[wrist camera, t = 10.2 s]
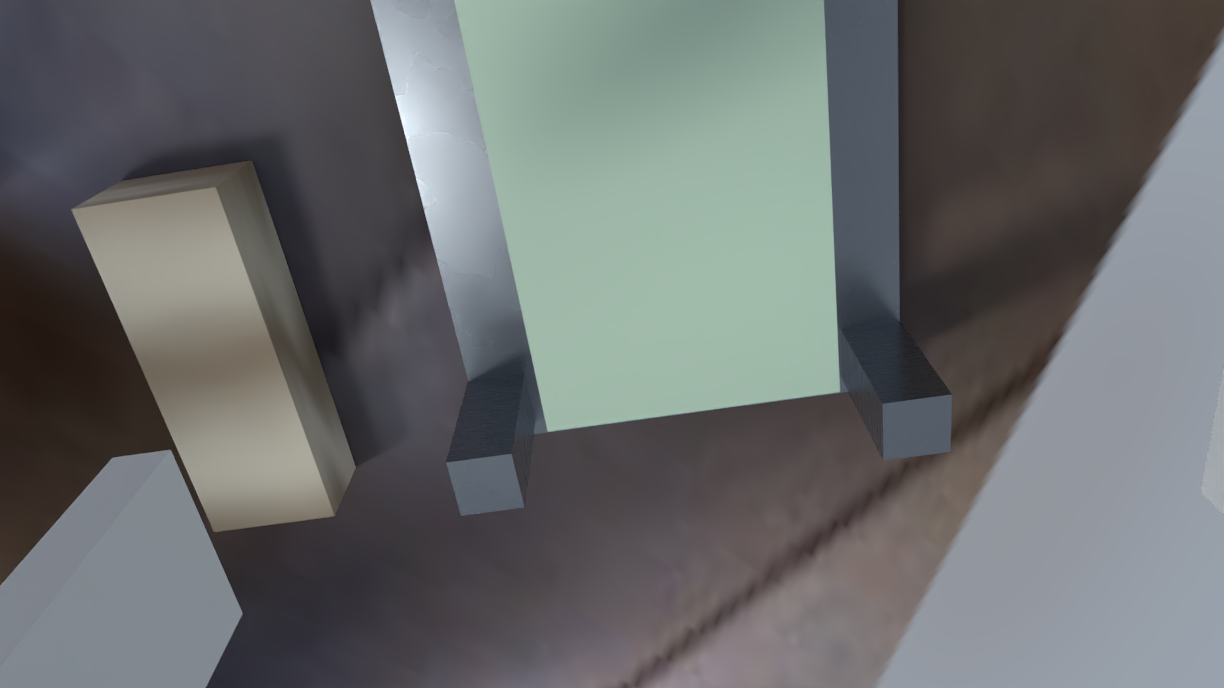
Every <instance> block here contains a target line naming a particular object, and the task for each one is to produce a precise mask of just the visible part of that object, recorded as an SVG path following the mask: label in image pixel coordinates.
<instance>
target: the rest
mask: <svg viewBox="0 0 1224 688" xmlns="http://www.w3.org/2000/svg"><path fill="white" fill-rule="evenodd" d="M71 210H72V212H73V215H74V217H75V219H76V221H77V224H78V226H79V228H80V230H81V233H82V235H83V237H84V239H85V242H86V244H87V246H88V249H89V251H90V253H91V255H92V258H93V260H94V262H95V264H96V267H97V269H98V271H99V273H100V276H101V278H102V280H103V282H104V285H105V287H106V289H107V291H108V294H109V296H110V298H111V301H112V303H113V305H114V307H115V310H116V312H117V314H118V316H119V319H120V321H121V323H122V325H123V328H124V330H125V332H126V334H127V337H128V339H129V341H130V343H131V346H132V348H133V350H134V352H135V355H136V357H137V359H138V362H139V364H140V366H141V368H142V371H143V373H144V375H145V377H146V380H147V382H148V384H149V386H150V389H151V391H152V393H153V395H154V398H155V400H156V402H157V404H158V407H159V409H160V411H161V414H162V416H163V418H164V420H165V423H166V425H167V427H168V429H169V432H170V434H171V436H172V438H173V441H174V443H175V445H176V447H177V450H178V452H179V454H180V456H181V459H182V461H183V463H184V465H185V468H186V470H187V472H188V475H189V477H190V479H191V481H192V484H193V486H194V488H195V490H196V493H197V495H198V497H199V499H200V502H201V504H202V506H203V508H204V511H205V513H206V515H207V517H208V520H209V522H210V524H211V526H212V529H213V531H214V532H220V531H227V530H235V529H242V528H250V527H258V526H265V525H273V524H280V523H288V522H295V521H303V520H311V519H318V518H326V517H333V516H335V515H336V512H337V510H338V508H339V506H340V503H341V501H342V499H343V496H344V494H345V492H346V489H347V487H348V485H349V482H350V480H351V478H352V476H353V473H354V471H355V469H356V466H355V463H354V460H353V457H352V454H351V451H350V448H349V445H348V442H347V439H346V436H345V433H344V430H343V427H342V425H341V422H340V419H339V416H338V413H337V410H336V407H335V404H334V401H333V398H332V395H331V392H330V389H329V386H328V383H327V380H326V377H325V374H324V371H323V368H322V365H321V362H320V360H319V357H318V354H317V351H316V348H315V345H314V342H313V339H312V336H311V333H310V330H309V327H308V324H307V321H306V318H305V315H304V312H303V309H302V306H301V303H300V300H299V297H298V295H297V292H296V289H295V286H294V283H293V280H292V277H291V274H290V271H289V268H288V265H287V262H286V259H285V256H284V253H283V250H282V247H281V244H280V241H279V238H278V235H277V232H276V230H275V227H274V224H273V221H272V218H271V215H270V212H269V209H268V206H267V203H266V200H265V197H264V194H263V191H262V188H261V185H260V182H259V179H258V176H257V173H256V170H255V167H254V164H253V162H252V160H250V161H244V162H237V163H231V164H224V165H218V166H212V167H205V168H199V169H192V170H186V171H180V172H173V173H167V174H161V175H154V176H148V177H141V178H135V179H129V180H122V181H119V182H118V183H116V184H114V185H113V186H111V187H109V188H107V189H106V190H104V191H102V192H100V193H99V194H97V195H95V196H94V197H92V198H90V199H88V200H87V201H85V202H83V203H81V204H80V205H78V206H76V207H74V208H73V209H71Z"/></svg>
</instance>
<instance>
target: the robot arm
mask: <svg viewBox="0 0 1224 688" xmlns="http://www.w3.org/2000/svg"><path fill="white" fill-rule="evenodd" d="M1201 493H1202V494H1203V495H1204V496H1205V497H1206V498H1207V499H1208V500H1210V501H1211V502H1212V503H1213V504H1214V505H1215V506H1216V507H1217V508H1218V509H1219V510H1220V511H1221V512H1222V513H1223V514H1224V367H1223V373H1222V378H1221V384H1220V389H1219V395H1218V400H1217V406H1216V411H1215V417H1214V422H1213V428H1212V433H1211V438H1210V444H1209V449H1208V455H1207V461H1206V466H1205V471H1204V477H1203V482H1202V488H1201ZM242 614H243V613H242V611H241V608H240V606H239V604H238V601H237V599H236V597H235V595H234V592H233V590H232V588H231V586H230V583H229V581H228V579H227V576H226V574H225V572H224V570H223V567H222V565H221V563H220V561H219V558H218V556H217V554H216V551H215V549H214V547H213V545H212V542H211V540H210V538H209V536H208V533H207V531H206V529H205V526H204V524H203V522H202V520H201V517H200V515H199V513H198V511H197V508H196V506H195V504H194V501H193V499H192V497H191V495H190V492H189V490H188V488H187V486H186V483H185V481H184V479H183V476H182V474H181V472H180V470H179V467H178V465H177V463H176V461H175V458H174V456H173V454H172V452H171V450H165V451H158V452H150V453H143V454H136V455H128V456H121V457H114V458H112V459H111V460H110V461H109V462H108V463H107V464H106V466H105V467H104V468H103V469H102V470H101V471H100V472H99V474H98V475H97V476H96V477H95V478H94V479H93V480H92V482H91V483H90V484H89V485H88V486H87V487H86V488H85V490H84V491H83V492H82V493H81V494H80V495H79V496H78V498H77V499H76V500H75V501H74V502H73V503H72V504H71V506H70V507H69V508H68V509H67V510H66V511H65V512H64V513H63V515H62V516H61V517H60V518H59V519H58V520H57V521H56V523H55V524H54V525H53V526H52V527H51V528H50V529H49V531H48V532H47V533H46V534H45V535H44V536H43V537H42V539H41V540H40V541H39V542H38V543H37V544H36V545H35V547H34V548H33V549H32V550H31V551H30V552H29V553H28V555H27V556H26V557H25V558H24V559H23V560H22V561H21V563H20V564H19V565H18V566H17V567H16V568H15V569H14V571H13V572H12V573H11V574H10V575H9V576H8V577H7V578H6V580H5V581H4V582H3V583H2V584H1V585H0V688H206V686H207V684H208V682H209V680H210V678H211V676H212V674H213V672H214V670H215V668H216V666H217V664H218V662H219V660H220V658H221V656H222V654H223V652H224V650H225V648H226V646H227V644H228V642H229V640H230V638H231V636H232V634H233V632H234V630H235V628H236V626H237V624H238V622H239V620H240V618H241V616H242Z"/></svg>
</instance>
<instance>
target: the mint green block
mask: <svg viewBox="0 0 1224 688" xmlns="http://www.w3.org/2000/svg"><path fill="white" fill-rule="evenodd" d="M454 2H455V6H456V11H457V16H458V20H459V25H460V29H461V34H462V39H463V43H464V48H465V53H466V57H467V62H468V66H469V71H470V76H471V80H472V85H473V89H474V94H475V99H476V103H477V108H478V113H479V117H480V122H481V126H482V131H483V136H484V140H485V145H486V149H487V154H488V159H489V163H490V168H491V173H492V177H493V182H494V186H495V191H496V196H497V200H498V205H499V209H500V214H501V219H502V223H503V228H504V232H505V237H506V242H507V246H508V251H509V256H510V260H511V265H512V269H513V274H514V279H515V283H516V288H517V292H518V297H519V302H520V306H521V311H522V316H523V320H524V325H525V329H526V334H527V339H528V343H529V348H530V352H531V357H532V362H533V366H534V371H535V376H536V380H537V385H538V389H539V394H540V399H541V403H542V408H543V412H544V417H545V422H546V426H547V431H548V432H550V431H557V430H564V429H572V428H579V427H587V426H594V425H601V424H609V423H616V422H623V421H631V420H638V419H645V418H653V417H660V416H668V415H675V414H682V413H690V412H697V411H704V410H712V409H719V408H727V407H734V406H741V405H749V404H756V403H763V402H771V401H778V400H785V399H793V398H800V397H808V396H815V395H822V394H830V393H837V392H840V379H839V355H838V331H837V306H836V282H835V258H834V234H833V209H832V185H831V161H830V137H829V112H828V88H827V64H826V40H825V15H824V0H454Z"/></svg>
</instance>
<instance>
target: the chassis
mask: <svg viewBox="0 0 1224 688" xmlns="http://www.w3.org/2000/svg"><path fill="white" fill-rule="evenodd" d="M371 4H372V8H373V12H374V16H375V20H376V24H377V28H378V32H379V36H380V39H381V43H382V47H383V51H384V55H385V59H386V63H387V67H388V71H389V75H390V78H391V82H392V86H393V90H394V94H395V98H396V102H397V106H398V110H399V114H400V117H401V121H402V125H403V129H404V133H405V137H406V141H407V145H408V149H409V153H410V156H411V160H412V164H413V168H414V172H415V176H416V180H417V184H418V188H419V191H420V195H421V199H422V203H423V207H424V211H425V215H426V219H427V223H428V227H429V230H430V234H431V238H432V242H433V246H434V250H435V254H436V258H437V262H438V266H439V269H440V273H441V277H442V281H443V285H444V289H445V293H446V297H447V301H448V305H449V308H450V312H451V316H452V320H453V324H454V328H455V332H456V336H457V340H458V344H459V347H460V351H461V355H462V359H463V363H464V367H465V371H466V375H467V379H468V385H467V388H466V392H465V395H464V399H463V403H462V406H461V410H460V413H459V417H458V421H457V424H456V428H455V432H454V435H453V439H452V442H451V446H450V450H449V453H448V457H447V461H446V465H447V468H448V472H449V475H450V479H451V482H452V486H453V489H454V493H455V496H456V500H457V504H458V507H459V511H460V514H461V516H464V515H471V514H479V513H487V512H494V511H502V510H510V509H517V508H525V500H526V492H527V484H528V476H529V468H530V460H531V452H532V444H533V436H534V434H541V433H549V432H548V431H547V426H546V422H545V417H544V412H543V408H542V403H541V399H540V394H539V389H538V385H537V380H536V376H535V371H534V366H533V362H532V357H531V352H530V348H529V343H528V339H527V334H526V329H525V325H524V320H523V316H522V311H521V306H520V302H519V297H518V292H517V288H516V283H515V279H514V274H513V269H512V265H511V260H510V256H509V251H508V246H507V242H506V237H505V232H504V228H503V223H502V219H501V214H500V209H499V205H498V200H497V196H496V191H495V186H494V182H493V177H492V173H491V168H490V163H489V159H488V154H487V149H486V145H485V140H484V136H483V131H482V126H481V122H480V117H479V113H478V108H477V103H476V99H475V94H474V89H473V85H472V80H471V76H470V71H469V66H468V62H467V57H466V53H465V48H464V43H463V39H462V34H461V29H460V25H459V20H458V16H457V11H456V6H455V2H454V0H371ZM824 15H825V40H826V64H827V88H828V112H829V137H830V161H831V185H832V209H833V234H834V258H835V282H836V306H837V331H838V355H839V379H840V392H837V393H844V392H849V394H850V396H851V398H852V400H853V402H854V403H855V405H856V407H857V409H858V411H859V413H860V415H861V417H862V419H863V421H864V423H865V425H866V427H867V429H868V431H869V433H870V435H871V437H872V439H873V441H874V443H875V445H876V447H877V449H878V451H879V453H880V455H881V457H882V459H883V461H884V460H891V459H899V458H907V457H914V456H922V455H929V454H937V453H945V452H951V414H952V394H951V392H950V391H949V390H948V388H947V387H946V385H945V384H944V383H943V381H942V380H941V378H940V377H939V376H938V374H937V373H936V371H935V370H934V369H933V367H932V366H931V365H930V363H929V362H928V360H927V359H926V358H925V356H924V355H923V353H922V352H921V351H920V349H919V348H918V346H917V345H916V344H915V342H914V341H913V339H912V338H911V337H910V335H909V334H908V332H907V331H906V330H905V328H904V327H903V325H902V324H901V323H900V296H899V134H898V0H824ZM830 394H836V393H830ZM822 395H829V394H822ZM815 396H821V395H815ZM808 397H814V396H808ZM800 398H807V397H800ZM793 399H799V398H793ZM785 400H792V399H785ZM785 400H778V401H785ZM771 402H777V401H771ZM763 403H770V402H763ZM756 404H762V403H756ZM749 405H755V404H749ZM741 406H748V405H741ZM734 407H740V406H734ZM727 408H733V407H727ZM719 409H726V408H719ZM712 410H718V409H712ZM704 411H711V410H704ZM697 412H703V411H697ZM690 413H696V412H690ZM682 414H689V413H682ZM675 415H681V414H675ZM668 416H674V415H668ZM660 417H667V416H660ZM653 418H659V417H653ZM645 419H652V418H645ZM645 419H638V420H645ZM631 421H637V420H631ZM623 422H630V421H623ZM616 423H622V422H616ZM609 424H615V423H609ZM601 425H608V424H601ZM594 426H600V425H594ZM587 427H593V426H587ZM579 428H586V427H579ZM572 429H578V428H572ZM564 430H571V429H564ZM557 431H563V430H557ZM550 432H556V431H550Z"/></svg>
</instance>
